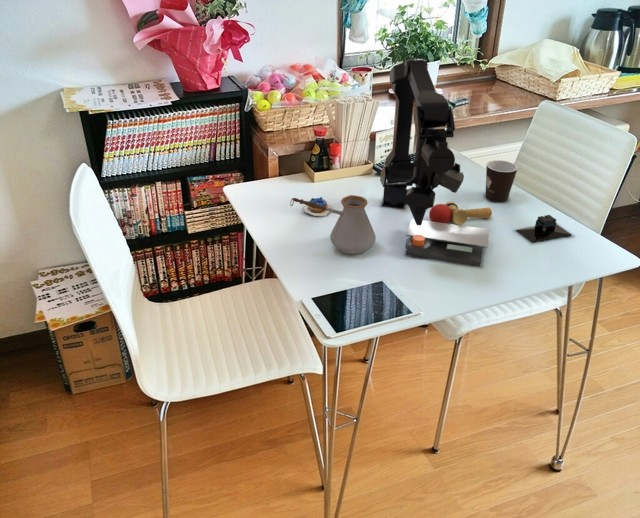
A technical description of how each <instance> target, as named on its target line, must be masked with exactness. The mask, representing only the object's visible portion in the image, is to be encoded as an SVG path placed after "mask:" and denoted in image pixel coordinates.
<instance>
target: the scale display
mask: <svg viewBox="0 0 640 518" xmlns="http://www.w3.org/2000/svg"><path fill="white" fill-rule="evenodd" d="M446 249H450V250H456V251H463V252H470V253H472V248H471V247H464V246H458V245H451V244H447V248H446Z"/></svg>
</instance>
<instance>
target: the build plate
mask: <svg viewBox="0 0 640 518" xmlns="http://www.w3.org/2000/svg"><path fill="white" fill-rule="evenodd" d="M516 232H517V233H518V234H520V235H521V236H522V237H524V238H525V239H526V240H527V241H528V242H530V243H532V244H535V243H543V242H547V241H553V240H558V239H564V238H565V239H567V238H570V237H572V233H570V232H569V231H567V230H566V229H565V228H563V227H562V226H560V225H559V224H557V219H556V218H555V217H554V216H553V215H551V214H547V215H541V216H537V218H536V220H535V225H534V226H529V227H524V228H519V229H516Z"/></svg>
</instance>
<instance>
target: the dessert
mask: <svg viewBox="0 0 640 518" xmlns="http://www.w3.org/2000/svg"><path fill="white" fill-rule="evenodd" d="M309 202H314V203H316V204H319V205H322V206H325V207H327V208H331V207H330V205H329V204H328V202H327V201H326V199H324V198H323V196H320V197H316V198H314V197H311V199H310V200H309ZM303 211H304V212H305V213H307V214H309V215H311V216H315V217H324V216H327V215H328V214H329V213H330V212H329V211H326V210H321V209H317V208H313V207H309V206H307V205H304V207H303Z"/></svg>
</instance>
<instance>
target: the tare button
mask: <svg viewBox="0 0 640 518" xmlns="http://www.w3.org/2000/svg"><path fill="white" fill-rule="evenodd" d="M424 242H425V237H424V236H422V235H414V236H413V238H412V244H413V245H414V246H423V245H424Z"/></svg>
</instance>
